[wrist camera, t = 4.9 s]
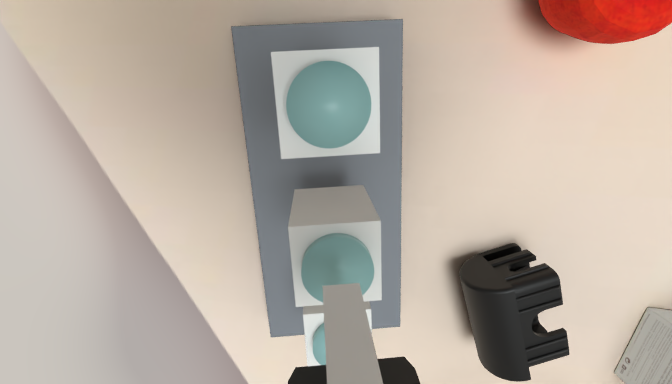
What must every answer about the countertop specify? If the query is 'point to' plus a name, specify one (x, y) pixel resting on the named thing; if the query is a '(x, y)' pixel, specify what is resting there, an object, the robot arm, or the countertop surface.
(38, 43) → the countertop surface
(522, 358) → the end cap
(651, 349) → the supplement box
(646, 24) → the apple
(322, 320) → the button far
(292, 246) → the button mid
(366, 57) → the button near
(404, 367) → the robot arm
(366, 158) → the mount
